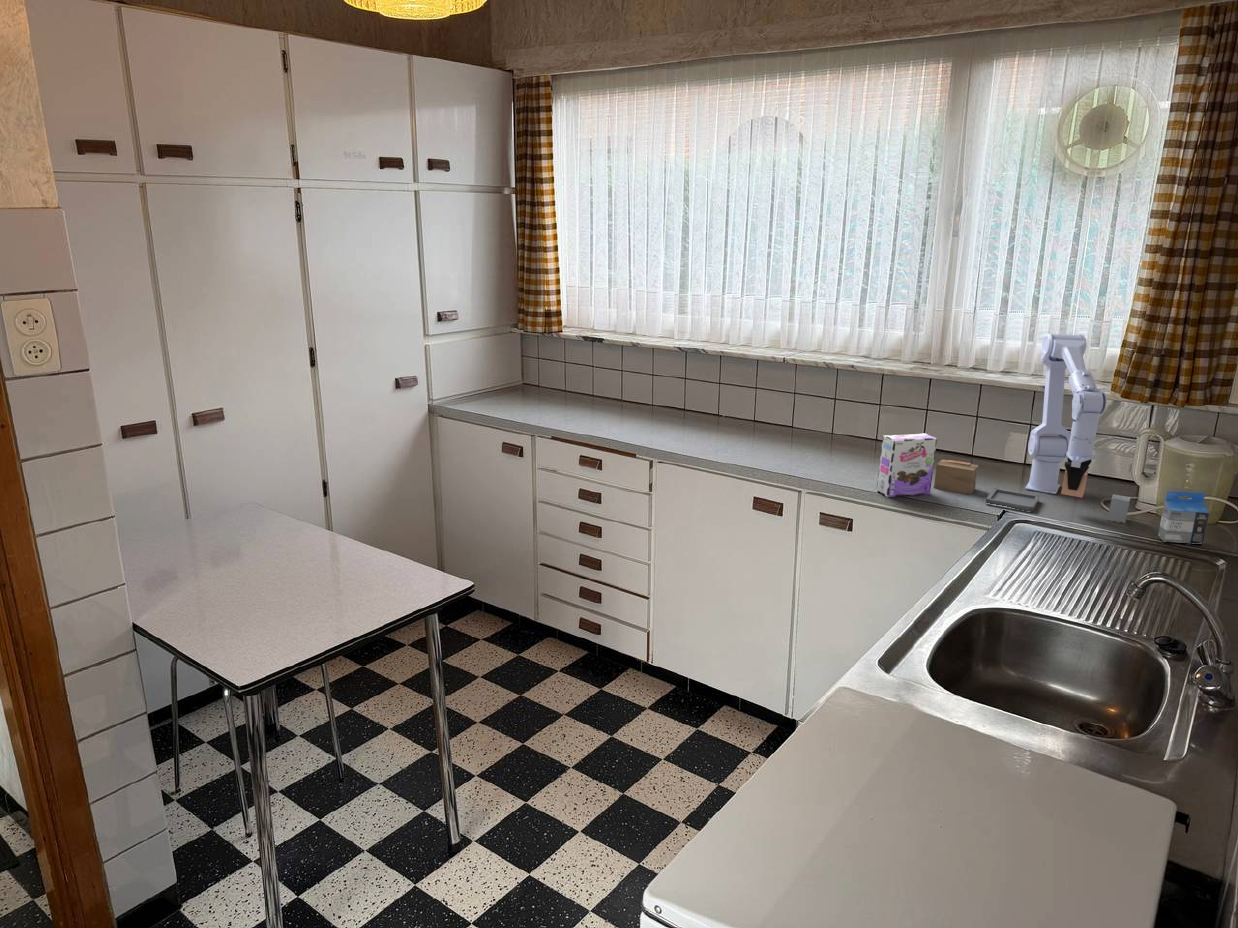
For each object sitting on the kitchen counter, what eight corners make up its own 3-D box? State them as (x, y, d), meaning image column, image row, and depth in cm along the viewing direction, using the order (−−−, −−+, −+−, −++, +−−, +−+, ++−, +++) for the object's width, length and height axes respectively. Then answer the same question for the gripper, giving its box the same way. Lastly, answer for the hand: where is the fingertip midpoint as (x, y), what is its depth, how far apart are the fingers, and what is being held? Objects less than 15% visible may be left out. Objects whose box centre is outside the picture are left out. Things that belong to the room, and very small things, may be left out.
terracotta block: (1062, 489, 232) (1066, 468, 230) (1083, 493, 229) (1087, 471, 227) (1061, 493, 228) (1064, 472, 227) (1082, 497, 226) (1086, 475, 224)
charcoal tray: (993, 493, 245) (994, 488, 245) (1038, 501, 239) (1039, 495, 239) (985, 504, 236) (986, 498, 235) (1032, 513, 230) (1033, 507, 229)
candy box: (887, 497, 239) (893, 440, 235) (875, 491, 245) (881, 434, 240) (930, 494, 243) (938, 437, 238) (918, 488, 248) (925, 432, 244)
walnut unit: (939, 482, 254) (942, 458, 252) (975, 488, 249) (978, 463, 247) (933, 487, 249) (937, 463, 247) (970, 494, 244) (974, 469, 242)
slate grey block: (1108, 515, 229) (1112, 494, 227) (1126, 519, 227) (1130, 497, 225) (1107, 520, 226) (1111, 498, 224) (1125, 523, 224) (1129, 501, 222)
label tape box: (1163, 543, 211) (1174, 495, 207) (1156, 537, 214) (1166, 490, 211) (1203, 546, 209) (1214, 497, 206) (1194, 540, 213) (1205, 492, 210)
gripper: (1097, 445, 216) (1087, 497, 220) (1102, 433, 228) (1093, 483, 232) (1066, 441, 220) (1057, 492, 224) (1072, 429, 232) (1064, 478, 236)
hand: (1073, 487), depth 228 cm, fingers closed on terracotta block, 4 cm apart
